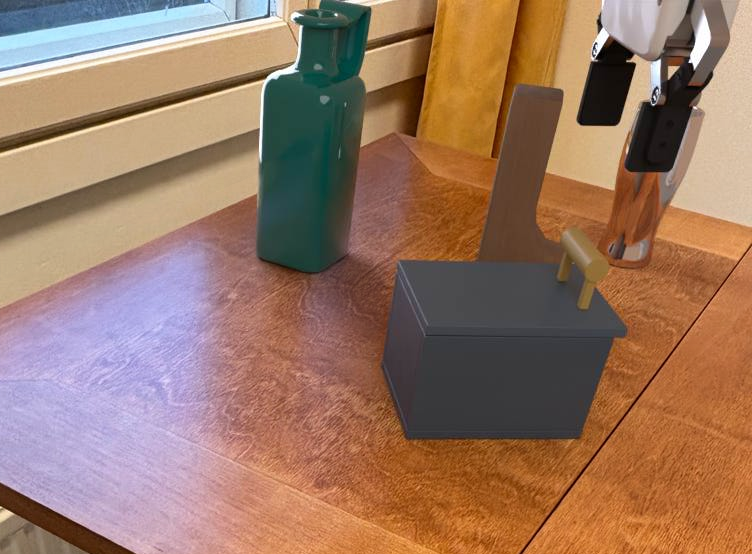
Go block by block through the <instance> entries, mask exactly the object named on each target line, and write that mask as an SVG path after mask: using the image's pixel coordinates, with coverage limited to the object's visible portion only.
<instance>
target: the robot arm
mask: <svg viewBox="0 0 752 554" xmlns="http://www.w3.org/2000/svg"><path fill="white" fill-rule="evenodd" d="M740 1H741V0H602V2H601V11H600V12H599V14H598V15H597V17H598V18H597V19H596V25H597V36H596V38H595V39H594V41H593V43H592V46H591V50H590V51H591V52H590V58H591V61H590V63H589V67H588V71H587V75H586V78H585V83H584V87H583V91H582V94H581V98H580V102H579V106H578V111H577V114H576V119H575V120H576V123H577V124H578V125H579V126H581V127H616V126H618V125H619V124H620V122H621V120H622V118H623V113H624V110H625V106H626V102H627V99H628V95H629V92H630V89H631V85H632V81H633V78H634V74H635V71H636V68H637V63H636V62H635V61H632V59H633V58H634V57H635V55H636V56H637V57H639V58H640V59H642V60H644V61H646V62H650V78H649V79H650V80H649V81H650V84H649V85H650V87H649V88H650V89H649V90H650V91H649V94H650V95H649V99H650V102H642V106H641V109H640V112H639V116H638V119H637V123H636V126H635V129H634V133H633V136H632V140H631V143H630V146H629V150H628V153H627V156H626V160H625V163H624V167H625V168H626V169H627V170H628V171H629V172H663V173H666V172H669V171H670V170H672V168H673V166H674V163H675V160H676V157H677V154H678V151H679V148H680V145H681V142H682V139H683V136H684V133H685V130H686V127H687V124H688V121H689V118H690V115H691V112H692V109H693V107H695V106H697V107H698V105H699V103H700V101H701V98H702V94H703V90H705V88H707V86H708V85H709V84H710V83H711V81H712V79H713V77H714V74H715V73H714V71H715V69H716V68H717V65H719V62H720V60H721V59H722V58H723V56H724V54H725V52H726V50H727V49H728V47H729V45H730V41H731V30H732V26H733V23H734V20H735V17H736V14H737V10H738V7H739V4H740ZM669 67H678V68H676V70H675V72H673V74H672V75H671V76H670V77H669Z"/></svg>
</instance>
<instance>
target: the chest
mask: <svg viewBox="0 0 752 554" xmlns="http://www.w3.org/2000/svg"><path fill="white" fill-rule="evenodd" d="M386 327H387V328H386V333H385V339H384V346H383V353H382V360H381V366H380V368H381V371H382V373H383V376H384V379H385V382H386V385H387V388H388V391H389V394H390V396H391V400H392V403H393V405H394V407H395V408H394V409H395V411H396V414H397V416H398V420H399V422H400V425H401V428H402V432H403V435H404V437H405V439H406V440H580V438H581V435H582V432H583V430H584V426H585V424H586V421H587V419H588V417H589V413H590V410H591V407H592V405H593V402H594V398H595V396H596V393H597V390H598V388H599V384H600V382H601V379H602V376H603V374H604V370H605V367H606V364H607V361H608V359H609V356H610V353H611V350H612V347H613V344H614V341H615V338H594V337H525V336H456V335H426V334H425V332H424V330H423V328H422V325H421V323H420V321H419V318H418V316H417V314H416V312H415V309H414V307H413V305H412V303H411V300H410V298H409V296H408V293H407V291H406V289H405V287H404V284H403V282H402V280H401V277H400V275H399V273H398V271H397V270H396V271H395V276H394V283H393V289H392V296H391V302H390V308H389V315H388V321H387V326H386ZM444 438H445V439H444ZM452 438H454V439H452ZM456 438H457V439H456ZM460 438H461V439H460Z"/></svg>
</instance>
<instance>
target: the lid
mask: <svg viewBox="0 0 752 554" xmlns="http://www.w3.org/2000/svg"><path fill="white" fill-rule="evenodd" d="M559 243H560V245H561V247H562V248H563V249H564V254H563V257H562V261H561V264H560V263H517V262H476V261H475V260H473V261H471V260H429V259H428V260H427V259H426V260H425V259H397V264H396V271H398V273H399V275H400V277H401V280H402V282H403V284H404V287H405V289H406V291H407V293H408V296H409V298H410V300H411V303H412V305H413V307H414V309H415V312H416V314H417V316H418V318H419V321H420V323H421V325H422V328H423V330H424V332H425V334H426V335H456V336H525V337H594V338H614V339H625V338H626V336H627V333H628V330H629V328H628V326H627V325H626V324H625V322H624V321H623V320H622V319H621V317H620V316H619V314H617V312H616V311H615V309H613V307H612V306H611V304H610V303H609V302H608V301H607V300H606V298H605V297H604V295H603V294H602V293H601V291H599V289H598V288H597V287H596V286H597V282H600V281H601V280H603V279H604V278H606V276H607V275H608V273H609V271H610V264H609V263H608V261H607V260H606V259H605V257H604V256H603V255H602V254H601V253H600V251H599V250H598V249H597V246H596V245H595V244H594V243H593V242H592V240H590V238H589V237H588V236H587V235H586V234H585V232H584V231H583V230H582V229H581V228H580V227H578V226H570V227H567V228H566V229H565V230H564V231H563V232H562V233H561V235H560V237H559Z"/></svg>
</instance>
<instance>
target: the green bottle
mask: <svg viewBox="0 0 752 554" xmlns="http://www.w3.org/2000/svg"><path fill="white" fill-rule="evenodd" d="M372 10H373V9H372V7H371V6H369V5H363V4H359V3H353V2H347V1H342V0H320V2H319V4H318V8H305V9H303V8H302V9H298V10H295V11H293V13H292V14H291V15H290V20H291V22H293V23H294V24H295V25H297V26H299V36H298V50H297V51H298V52H297V56H296V60H295V62H294V63H293V64H291V65H288V66H286V67H283V68H280V69H277V70H275V71H273V72H272V73H270V74H269V75H268V76H267V77H266V78H265V81H264V83H263V85H262V89H261V96H260V97H261V99H260V120H259V121H260V123H259V147H258V169H257V171H258V172H257V194H256V195H257V196H256V217H255V239H254V241H255V242H254V243H255V244H254V251H255V254H256V255H257V257H258V258H260V259H261V260H264V261H267V262H270V263H273V264H275V265H279V266H283V267H286V268H289V269H292V270H295V271H298V272H301V273H309V274H310V273H311V274H312V273H319V272H323V271H325V270H326V269H327V268H329V267H330V266H332V265H334V264H335V263H336V262H338V261H340V260H341V259H342V258H344V257H345V256H347V254H348V252H349V249H350V247H349V246H350V239H351V230H352V222H353V214H354V213H353V212H354V205H355V195H356V188H357V179H358V170H359V162H360V155H361V144H362V137H363V129H364V128H363V127H364V119H365V110H366V101H367V88H366V83H365V81H364V80H363V78H362V77H360V76H359V75H360V74H361V70H362V67H363V64H364V60H365V55H366V49H367V44H368V37H369V31H370V26H371V25H370V24H371V18H372Z"/></svg>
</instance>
